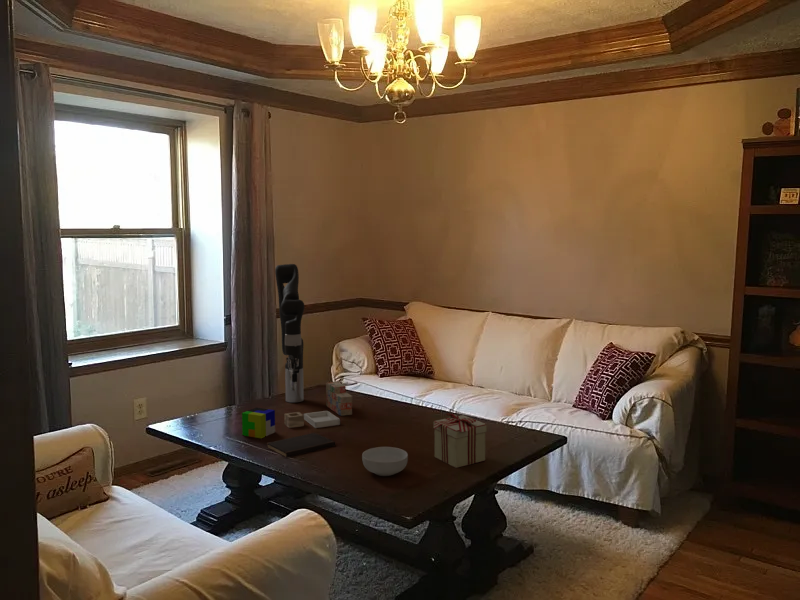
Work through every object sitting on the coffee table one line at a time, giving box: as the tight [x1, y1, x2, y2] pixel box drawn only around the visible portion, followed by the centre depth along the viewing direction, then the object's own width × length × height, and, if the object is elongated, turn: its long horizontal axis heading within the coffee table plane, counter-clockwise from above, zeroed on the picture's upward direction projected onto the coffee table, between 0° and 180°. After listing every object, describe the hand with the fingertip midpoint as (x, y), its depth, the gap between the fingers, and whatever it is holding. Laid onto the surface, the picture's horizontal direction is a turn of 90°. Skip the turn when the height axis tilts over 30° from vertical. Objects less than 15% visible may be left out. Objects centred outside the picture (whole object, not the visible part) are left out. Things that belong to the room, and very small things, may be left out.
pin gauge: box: [290, 366, 296, 391], centre depth 305 cm, size 3×3×12 cm
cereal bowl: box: [361, 446, 409, 477], centre depth 247 cm, size 17×17×7 cm
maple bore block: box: [283, 411, 305, 429], centre depth 307 cm, size 7×7×5 cm
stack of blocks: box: [325, 381, 353, 417], centre depth 332 cm, size 21×6×12 cm, turn 25°
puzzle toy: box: [241, 407, 276, 439], centre depth 293 cm, size 10×10×10 cm
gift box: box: [433, 412, 487, 469], centre depth 260 cm, size 17×18×17 cm
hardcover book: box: [266, 432, 336, 458], centre depth 276 cm, size 16×23×2 cm
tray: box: [303, 410, 341, 429], centre depth 312 cm, size 16×12×3 cm
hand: (293, 381), depth 305 cm, fingers closed on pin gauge, 2 cm apart
